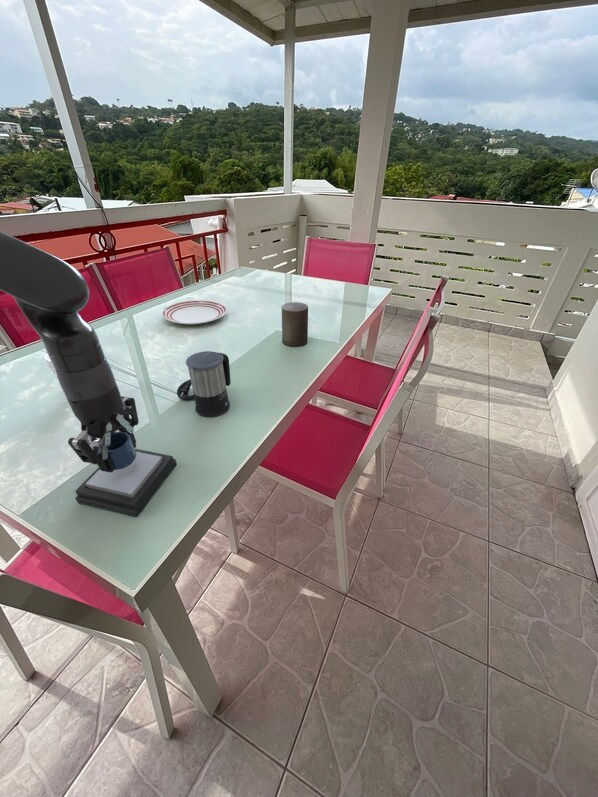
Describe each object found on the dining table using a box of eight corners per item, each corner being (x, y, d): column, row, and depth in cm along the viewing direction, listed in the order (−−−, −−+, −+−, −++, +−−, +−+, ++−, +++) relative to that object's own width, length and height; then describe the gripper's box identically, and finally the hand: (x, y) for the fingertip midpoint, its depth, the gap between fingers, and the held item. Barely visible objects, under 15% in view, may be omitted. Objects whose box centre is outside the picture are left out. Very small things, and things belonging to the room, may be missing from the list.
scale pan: (133, 498, 62) (131, 493, 61) (87, 488, 64) (85, 483, 63) (163, 461, 70) (161, 456, 69) (122, 452, 72) (120, 448, 71)
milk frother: (226, 418, 86) (219, 368, 78) (166, 417, 86) (152, 367, 78) (235, 388, 98) (230, 342, 89) (182, 387, 98) (172, 341, 89)
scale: (137, 517, 61) (132, 507, 60) (78, 503, 64) (72, 493, 62) (177, 464, 72) (174, 454, 71) (125, 453, 75) (121, 444, 73)
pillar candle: (308, 347, 121) (309, 307, 113) (282, 347, 121) (281, 307, 112) (306, 336, 129) (307, 298, 121) (281, 336, 129) (280, 298, 120)
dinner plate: (238, 310, 152) (237, 303, 150) (207, 333, 130) (206, 325, 128) (186, 303, 159) (185, 296, 157) (149, 324, 137) (147, 316, 135)
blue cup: (124, 473, 62) (116, 454, 59) (98, 468, 63) (89, 448, 60) (143, 452, 66) (136, 434, 63) (118, 448, 67) (110, 429, 64)
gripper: (101, 362, 61) (127, 432, 71) (33, 407, 49) (75, 483, 59) (137, 368, 60) (159, 438, 69) (75, 415, 48) (111, 491, 58)
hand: (120, 458), depth 64 cm, fingers closed on blue cup, 5 cm apart
